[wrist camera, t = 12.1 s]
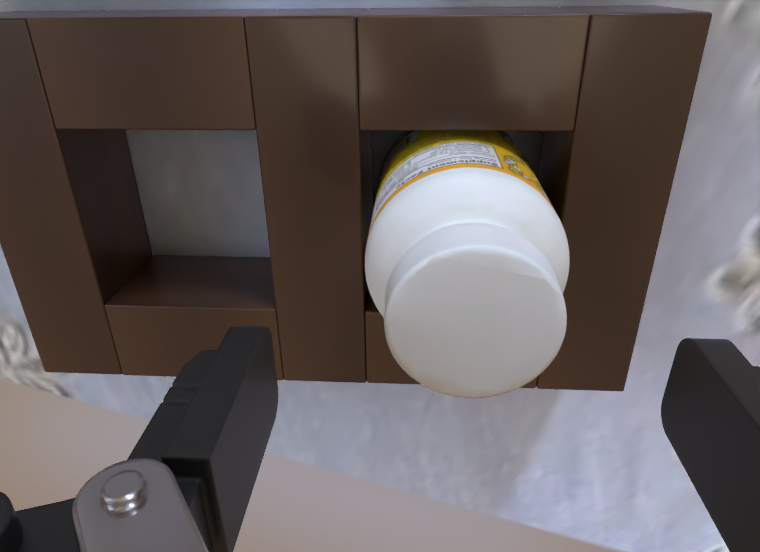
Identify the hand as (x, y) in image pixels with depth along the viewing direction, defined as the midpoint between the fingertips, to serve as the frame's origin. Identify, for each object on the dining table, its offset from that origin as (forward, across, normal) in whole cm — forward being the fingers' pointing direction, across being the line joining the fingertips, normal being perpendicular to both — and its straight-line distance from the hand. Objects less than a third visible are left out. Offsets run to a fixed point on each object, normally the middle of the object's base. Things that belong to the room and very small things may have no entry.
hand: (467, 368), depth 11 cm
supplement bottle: (+11, 0, 0) cm, 11 cm away
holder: (+11, +4, 0) cm, 12 cm away
